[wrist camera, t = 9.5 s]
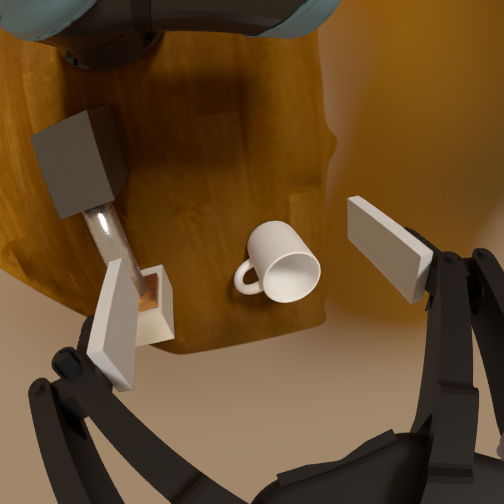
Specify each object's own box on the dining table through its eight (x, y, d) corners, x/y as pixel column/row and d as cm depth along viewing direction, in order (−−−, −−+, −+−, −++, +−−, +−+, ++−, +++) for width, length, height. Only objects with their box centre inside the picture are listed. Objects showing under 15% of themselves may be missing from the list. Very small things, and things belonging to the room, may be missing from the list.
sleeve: (65, 123, 31) (30, 136, 22) (110, 104, 32) (86, 109, 23) (85, 188, 37) (60, 219, 28) (129, 172, 38) (114, 199, 28)
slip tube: (73, 183, 32) (56, 202, 27) (117, 167, 33) (106, 182, 27) (127, 303, 43) (124, 332, 38) (165, 293, 44) (166, 322, 38)
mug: (240, 282, 51) (254, 324, 43) (216, 247, 47) (226, 287, 38) (301, 248, 51) (327, 283, 42) (283, 209, 46) (309, 241, 38)
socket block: (122, 275, 45) (113, 324, 36) (162, 264, 46) (161, 312, 36) (134, 298, 48) (129, 348, 38) (172, 288, 49) (174, 338, 39)
